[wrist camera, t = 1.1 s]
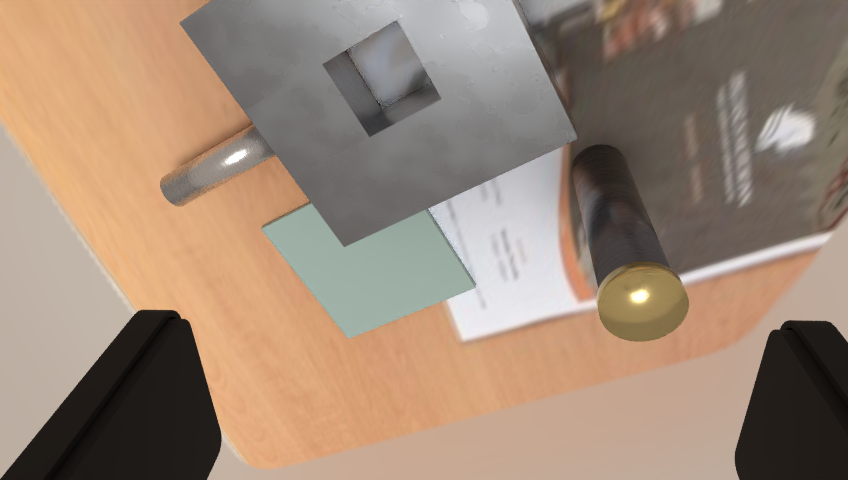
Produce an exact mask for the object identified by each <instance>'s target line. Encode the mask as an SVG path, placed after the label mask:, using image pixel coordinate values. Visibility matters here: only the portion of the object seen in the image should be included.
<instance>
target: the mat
mask: <svg viewBox="0 0 848 480" xmlns="http://www.w3.org/2000/svg"><path fill="white" fill-rule="evenodd" d="M261 230H262V231H263V232H264V234H265V235H266V236H267V237H268V239H269V240H270V241H271V242H272V244H273V245H274V246H275V247H276V249H277V250H278V251H279V252H280V254H281V255H282V256H283V257H284V259H285V260H286V261H287V262H288V264H289V265H290V266H291V267H292V269H293V270H294V271H295V273H296V274H297V275H298V276H299V278H300V279H301V280H302V281H303V283H304V284H305V285H306V286H307V288H308V289H309V290H310V291H311V293H312V294H313V295H314V296H315V298H316V299H317V300H318V301H319V303H320V304H321V305H322V306H323V308H324V309H325V310H326V311H327V313H328V314H329V315H330V317H331V318H332V319H333V320H334V322H335V323H336V324H337V325H338V327H339V328H340V329H341V330H342V332H343V333H344V334H345V335H346V337H347V338H348V339H349V338H352V337H354V336H357V335H359V334H362V333H364V332H367V331H369V330H372V329H374V328H377V327H379V326H382V325H384V324H387V323H389V322H391V321H394V320H396V319H399V318H401V317H404V316H406V315H409V314H411V313H414V312H416V311H419V310H421V309H424V308H426V307H429V306H431V305H434V304H436V303H439V302H441V301H444V300H446V299H449V298H451V297H454V296H456V295H459V294H461V293H464V292H466V291H468V290H471V289H473V288H475V285H476V284H475V282H474V281H473V279H472V278H471V276H470V275H469V273H468V272H467V270H466V268H465V267H464V265H463V264H462V262H461V261H460V259H459V257H458V256H457V254H456V253H455V251H454V250H453V248H452V247H451V245H450V243H449V242H448V240H447V239H446V237H445V236H444V234H443V232H442V231H441V229H440V228H439V226H438V225H437V223H436V222H435V220H434V218H433V217H432V215H431V214H430V212H429V211H428V209H426V210H424V211H421V212H419V213H417V214H415V215H413V216H411V217H409V218H406V219H404V220H402V221H400V222H398V223H396V224H393V225H391V226H389V227H387V228H385V229H383V230H381V231H378V232H376V233H374V234H372V235H370V236H368V237H365V238H363V239H361V240H359V241H357V242H355V243H353V244H350V245H348V246H346V247H343V245H342V244H341V242H340V241H339V240H338V238H337V237H336V236H335V234H334V233H333V232H332V230H331V229H330V227H329V226H328V225H327V223H326V222H325V221H324V219H323V218H322V217H321V215H320V214H319V213H318V211H317V210H316V208H315V207H314V206H313V204H312V203H311V202H309V203H307V204H305V205H303V206H301V207H299V208H297V209H295V210H293V211H291V212H289V213H287V214H285V215H283V216H281V217H279V218H277V219H275V220H273V221H271V222H269V223H268V224H266V225H264V226H263V227H262V228H261Z"/></svg>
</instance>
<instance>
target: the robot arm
mask: <svg viewBox="0 0 848 480" xmlns="http://www.w3.org/2000/svg"><path fill="white" fill-rule="evenodd" d="M220 447H221V430H220V427H219V423H218V420H217V416H216V413H215V409H214V406H213V402H212V399H211V395H210V392H209V388H208V385H207V381H206V378H205V374H204V371H203V367H202V364H201V360H200V357H199V353H198V350H197V346H196V343H195V339H194V335H193V332H192V328H191V325H190V323H189V322H188V321H187V320H186V319H181V317H180V315H179V314H178V313H177V311H174V310H140V311H138V312H137V313H136V314H135V315H134V316H133V317H132V318H131V320H130V321H129V322H128V323H127V324H126V326H125V327H124V328H123V329H122V330H121V332H120V333H119V334H118V336H117V337H116V338H115V339H114V341H113V342H112V343H111V344H110V345H109V346H108V348H107V349H106V350H105V351H104V353H103V354H102V355H101V356H100V357H99V359H98V360H97V361H96V362H95V364H94V365H93V366H92V367H91V368H90V370H89V371H88V372H87V373H86V375H85V376H84V377H83V378H82V380H81V381H80V382H79V383H78V384H77V386H76V387H75V388H74V389H73V391H72V392H71V393H70V394H69V395H68V397H67V398H66V399H65V400H64V402H63V403H62V404H61V405H60V406H59V408H58V409H57V410H56V411H55V413H54V414H53V415H52V416H51V418H50V419H49V420H48V421H47V423H46V424H45V425H44V426H43V427H42V429H41V430H40V431H39V432H38V433H37V435H36V436H35V437H34V439H33V440H32V441H31V442H30V443H29V445H28V446H27V447H26V448H25V450H24V451H23V452H22V453H21V454H20V456H19V457H18V458H17V459H16V461H15V462H14V463H13V464H12V466H11V467H10V468H9V469H8V470H7V472H6V473H5V474H4V475H3V477H2V478H1V479H0V480H207V478H208V476H209V474H210V472H211V470H212V467H213V465H214V463H215V461H216V459H217V457H218V454H219V452H220ZM735 466H736V471H737V474H738V476H739V479H740V480H848V342H847V341H846V340H845V338H844V337H843V336H842V335H841V333H840V332H839V331H838V330H837V328H836V327H835V326H834V325H832V323H831V322H827V321H794V320H793V321H792V320H790V321H786V322H784V324H783V325H782V326H781V328H780V330H773V331H772V332H771V333H770V334H769V337H768V340H767V343H766V347H765V350H764V354H763V357H762V361H761V364H760V368H759V371H758V374H757V378H756V381H755V385H754V388H753V392H752V395H751V399H750V402H749V405H748V409H747V412H746V416H745V419H744V423H743V426H742V430H741V433H740V437H739V440H738V443H737V448H736V451H735Z"/></svg>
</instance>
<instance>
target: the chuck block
mask: <svg viewBox="0 0 848 480" xmlns="http://www.w3.org/2000/svg"><path fill="white" fill-rule="evenodd" d="M396 20H397V22H398V24H399V25H400V27H401V29H402V30H403V32H404V34H405V36H406V37H407V39H408V41H409V43H410V44H411V46H412V48H413V50H414V51H415V53H416V55H417V57H418V58H419V60H420V62H421V64H422V65H423V67H424V69H425V71H426V72H427V74H428V76H429V78H430V79H431V81H432V83H430V84H428V85H426V86H425V87H423V88H421V89H419V90H417V91H415V92H413V93H412V94H410V95H408V96H406V97H404V98H402V99H401V100H399V101H397V102H395V103H393V104H391V105H390V106H388V107H386V108H384V109H381V107H380V106H379V104H378V103H377V101H376V99H375V98H374V96H373V95H372V93H371V91H370V90H369V88H368V87H367V85H366V83H365V82H364V80H363V79H362V77H361V75H360V74H359V72H358V71H357V69H356V67H355V66H354V64H353V63H352V61H351V60H350V58H349V56H348V55H347V53H346V52H345V50H347V49H349V48H350V47H352V46H354V45H355V44H357V43H359V42H360V41H362V40H364V39H365V38H367V37H369V36H371V35H372V34H374V33H376V32H377V31H379V30H381V29H382V28H384V27H386V26H387V25H389V24H391V23H392V22H394V21H396ZM180 25H181V26H182V27H183V29H184V30H185V32H186V33H187V34H188V36H189V37H190V38H191V40H192V41H193V42H194V44H195V45H196V46H197V48H198V49H199V51H200V52H201V53H202V55H203V56H204V57H205V59H206V60H207V61H208V63H209V64H210V66H211V67H212V68H213V70H214V71H215V72H216V74H217V75H218V76H219V78H220V79H221V81H222V82H223V83H224V85H225V86H226V87H227V89H228V90H229V91H230V93H231V94H232V95H233V97H234V98H235V100H236V101H237V102H238V104H239V105H240V106H241V108H242V109H243V110H244V112H245V113H246V115H247V116H248V117H249V119H250V120H251V121H252V123H253V125H251V126H249V127H248V128H246V129H244V130H243V131H241V132H239V133H237V134H236V135H234V136H232V137H231V138H229V139H227V140H225V141H224V142H222V143H220V144H219V145H217V146H215V147H213V148H212V149H210V150H208V151H207V152H205V153H203V154H201V155H200V156H198V157H196V158H194V159H193V160H191V161H189V162H188V163H186V164H184V165H182V166H181V167H179V168H177V169H176V170H174V171H172V172H170V173H169V174H167V175H165V176H164V177H162V179H161V181H160V187H161V190H162V193H163V195H164V196H165V198H166V199H167V200H168V201H169V202H170V203H172V204H173V205H175V206H184V205H186V204H187V203H189V202H191V201H193V200H195V199H196V198H198V197H200V196H202V195H204V194H206V193H207V192H209V191H211V190H213V189H215V188H216V187H218V186H220V185H222V184H224V183H225V182H227V181H229V180H231V179H233V178H235V177H236V176H238V175H240V174H242V173H244V172H245V171H247V170H249V169H251V168H253V167H254V166H256V165H258V164H260V163H262V162H264V161H265V160H267V159H269V158H271V157H273V156H274V155H277V157H278V158H279V159H280V161H281V162H282V164H283V165H284V166H285V168H286V169H287V170H288V172H289V173H290V174H291V176H292V177H293V178H294V180H295V181H296V183H297V184H298V185H299V187H300V188H301V189H302V191H303V192H304V193H305V195H306V196H307V198H308V199H309V200H310V202H311V203H312V204H313V206H314V207H315V208H316V210H317V211H318V213H319V214H320V215H321V217H322V218H323V219H324V221H325V222H326V223H327V225H328V226H329V227H330V229H331V230H332V232H333V233H334V234H335V236H336V237H337V238H338V240H339V241H340V242H341V244H342V245H343V247H346V246H348V245H350V244H353V243H355V242H357V241H359V240H361V239H363V238H365V237H368V236H370V235H372V234H374V233H376V232H378V231H381V230H383V229H385V228H387V227H389V226H391V225H393V224H396V223H398V222H400V221H402V220H404V219H406V218H409V217H411V216H413V215H415V214H417V213H419V212H421V211H424V210H426V209H428V208H430V207H432V206H434V205H436V204H439V203H441V202H443V201H445V200H447V199H449V198H452V197H454V196H456V195H458V194H460V193H462V192H464V191H467V190H469V189H471V188H473V187H475V186H477V185H480V184H482V183H484V182H486V181H488V180H490V179H492V178H495V177H497V176H499V175H501V174H503V173H505V172H507V171H510V170H512V169H514V168H516V167H518V166H520V165H523V164H525V163H527V162H529V161H531V160H533V159H535V158H538V157H540V156H542V155H544V154H546V153H548V152H551V151H553V150H555V149H557V148H559V147H561V146H563V145H566V144H568V143H570V142H572V141H574V140H576V139H578V135H577V132H576V128H575V125H574V121H573V118H572V114H571V111H570V108H569V106H568V104H567V102H566V100H565V98H564V96H563V94H562V92H561V90H560V87H559V85H558V83H557V81H556V79H555V77H554V75H553V73H552V71H551V69H550V67H549V64H548V62H547V60H546V58H545V56H544V54H543V52H542V50H541V48H540V46H539V44H538V41H537V39H536V37H535V35H534V33H533V31H532V29H531V27H530V25H529V23H528V21H527V18H526V16H525V14H524V12H523V10H522V8H521V6H520V4H519V2H518V0H212V1H210V2H209V3H207V4H206V5H204V6H203V7H202V8H200V9H199V10H197V11H196V12H194V13H193V14H191V15H190V16H188V17H187V18H186V19H184V20H183V21H181V22H180Z"/></svg>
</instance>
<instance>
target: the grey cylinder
mask: <svg viewBox="0 0 848 480" xmlns="http://www.w3.org/2000/svg"><path fill="white" fill-rule="evenodd" d="M572 177H573V181H574V185H575V190H576V194H577V198H578V202H579V207H580V211H581V215H582V220H583V224H584V228H585V232H586V237H587V241H588V245H589V250H590V254H591V258H592V262H593V267H594V271H595V275H596V280H597V284H598V291H597V297H596V300H597V306H598V311H599V315H600V319H601V321H602V323H603V325H604V327H605V328H606V329H607V330H608V331H609V332H611V333H612V334H613V335H615V336H617V337H619V338H622V339H625V340H629V341H650V340H655V339H658V338H661V337H663V336H665V335H667V334H669V333H671V332H672V331H674V330H675V329H676V328H677V327H678V326H679V325H680V324H681V323H682V322H683V320H684V319H685V317H686V315H687V312H688V308H689V300H688V296H687V293H686V291H685V289H684V286H683V284H682V282H681V280H680V278H679V276H678V275H677V274H676V273H675V272H674V271H673V270H671V269H670V267H669V264H668V262H667V259H666V257H665V255H664V252H663V250H662V247H661V245H660V243H659V240H658V238H657V235H656V233H655V231H654V228H653V226H652V223H651V221H650V219H649V216H648V214H647V211H646V209H645V207H644V204H643V202H642V199H641V197H640V195H639V192H638V190H637V187H636V185H635V183H634V180H633V178H632V175H631V173H630V171H629V168H628V166H627V163H626V161H625V159H624V157H623V155H622V154H621V153H620V152H619V151H618V150H617V149H615V148H614V147H611V146H608V145H595V146H591V147H589V148H587V149H585V150H584V151H582V152H581V153H580V154H579V155H578V156H577V157H576V159H575V161H574V163H573V166H572Z"/></svg>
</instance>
